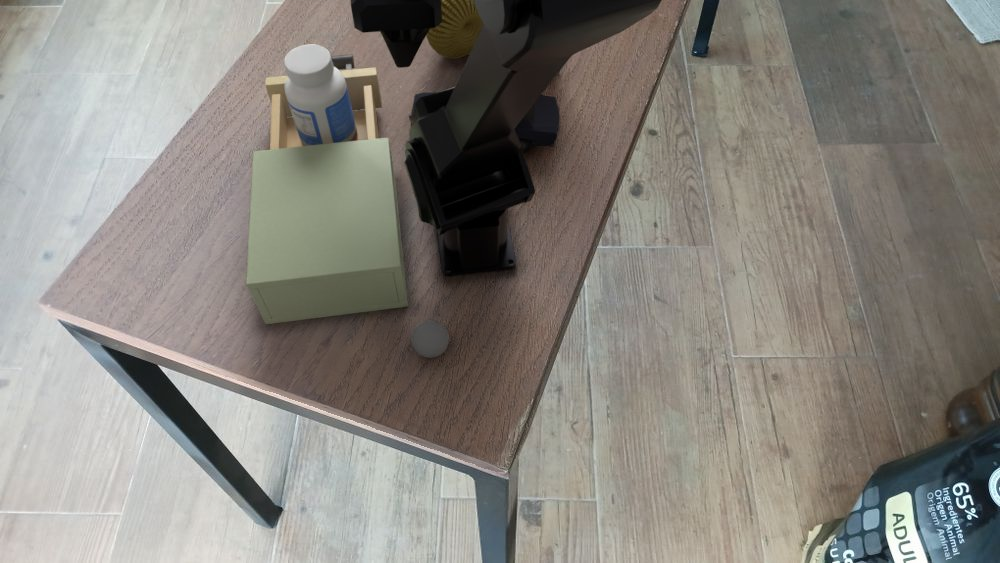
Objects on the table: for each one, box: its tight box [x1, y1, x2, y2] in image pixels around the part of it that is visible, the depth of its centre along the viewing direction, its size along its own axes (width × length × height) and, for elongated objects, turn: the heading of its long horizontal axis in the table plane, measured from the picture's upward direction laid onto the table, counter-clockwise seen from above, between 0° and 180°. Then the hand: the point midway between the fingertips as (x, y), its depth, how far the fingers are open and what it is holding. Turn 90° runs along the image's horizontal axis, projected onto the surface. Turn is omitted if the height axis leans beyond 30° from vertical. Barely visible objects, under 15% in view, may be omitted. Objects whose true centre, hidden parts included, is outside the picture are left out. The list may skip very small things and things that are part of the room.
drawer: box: [265, 53, 383, 150], centre depth 70 cm, size 18×11×4 cm, turn 9°
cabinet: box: [245, 137, 409, 325], centre depth 63 cm, size 14×12×6 cm
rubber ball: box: [410, 319, 450, 359], centre depth 58 cm, size 3×3×3 cm
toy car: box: [410, 91, 561, 154], centre depth 71 cm, size 6×15×5 cm, turn 89°
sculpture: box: [425, 0, 484, 59], centre depth 77 cm, size 8×4×8 cm, turn 129°
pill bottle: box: [283, 43, 358, 146], centre depth 66 cm, size 6×5×10 cm
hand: (399, 29), depth 62 cm, fingers open, 9 cm apart
